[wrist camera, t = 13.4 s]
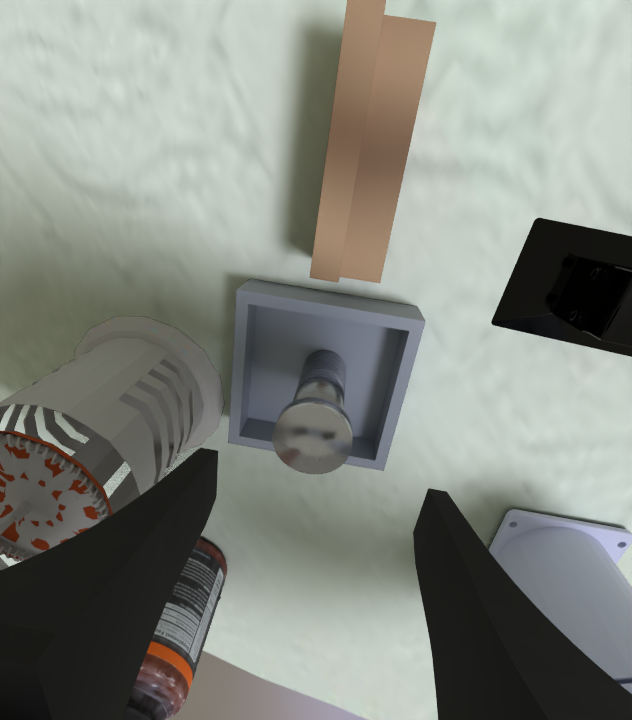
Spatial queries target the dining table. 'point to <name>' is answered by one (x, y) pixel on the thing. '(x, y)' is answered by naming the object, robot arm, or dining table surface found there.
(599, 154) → the dining table surface
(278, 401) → the tray
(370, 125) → the bar
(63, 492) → the french press
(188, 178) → the dining table surface
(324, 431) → the pin
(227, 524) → the dining table surface
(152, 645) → the supplement bottle
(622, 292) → the build plate
